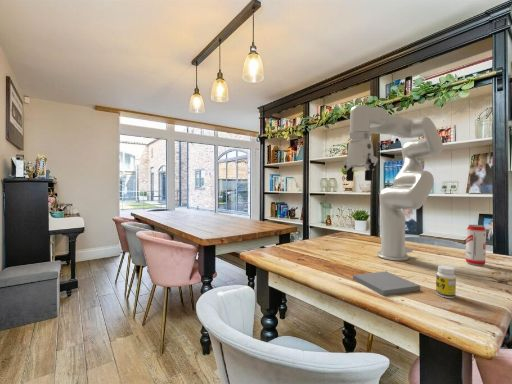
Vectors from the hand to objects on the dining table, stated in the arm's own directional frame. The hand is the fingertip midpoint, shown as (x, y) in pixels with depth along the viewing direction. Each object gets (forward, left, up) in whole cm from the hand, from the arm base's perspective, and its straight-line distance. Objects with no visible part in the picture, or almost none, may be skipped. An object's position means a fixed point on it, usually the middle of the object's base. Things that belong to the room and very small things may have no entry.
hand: (358, 180), depth 107 cm
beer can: (-48, +12, -34) cm, 60 cm away
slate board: (+5, +20, -34) cm, 40 cm away
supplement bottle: (-6, +32, -34) cm, 47 cm away
